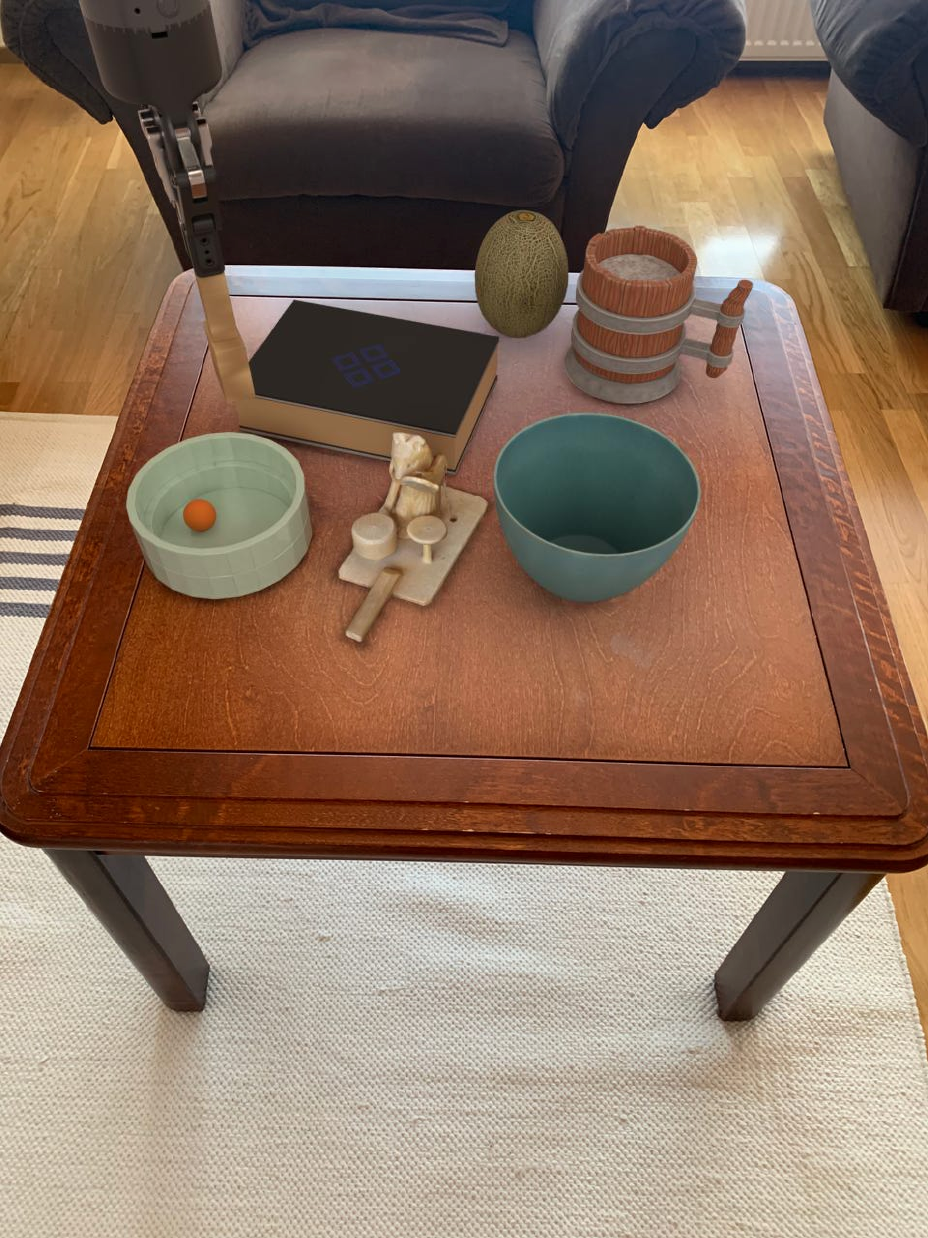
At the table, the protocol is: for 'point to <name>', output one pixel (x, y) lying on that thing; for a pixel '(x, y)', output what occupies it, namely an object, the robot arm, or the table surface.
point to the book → (369, 382)
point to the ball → (199, 515)
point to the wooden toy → (409, 533)
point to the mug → (643, 317)
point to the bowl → (222, 514)
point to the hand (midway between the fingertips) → (206, 263)
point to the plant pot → (593, 503)
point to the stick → (225, 339)
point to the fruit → (521, 274)
